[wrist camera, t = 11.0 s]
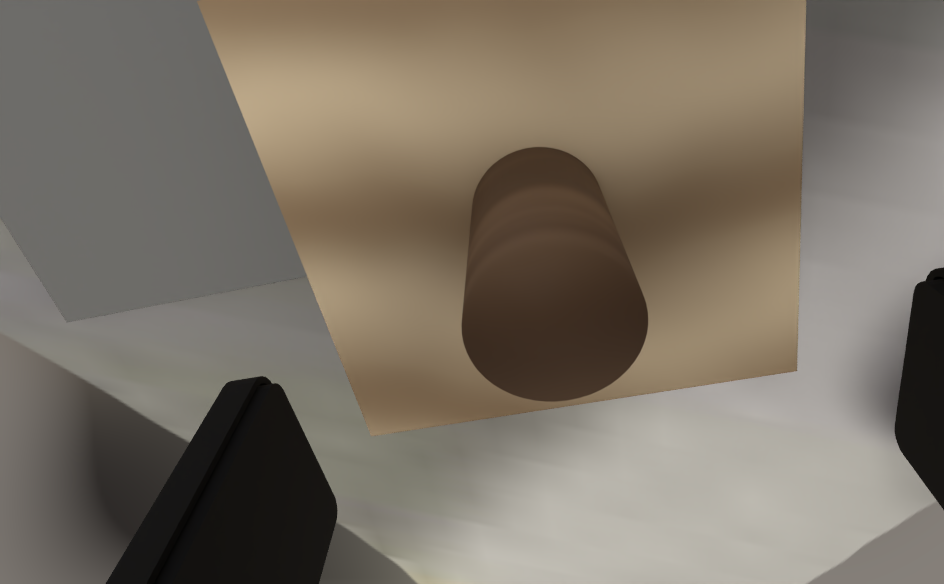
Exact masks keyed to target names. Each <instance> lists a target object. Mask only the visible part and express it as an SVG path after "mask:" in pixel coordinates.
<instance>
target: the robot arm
mask: <svg viewBox="0 0 944 584" xmlns="http://www.w3.org/2000/svg"><path fill="white" fill-rule="evenodd" d="M895 436H896V440H897V443H898V446H899V448H900V450H901V452H902V453H903V455H904V456H905V458H906V459H907V460H908V462H909V463H910V464H911V466H912V467H913V468H914V470H915V471H916V473H917V474H918V475H919V477H920V478H921V479H922V481H923V482H924V483H925V485H926V486H927V488H928V489H929V490H930V492H931V493H932V494H933V496H934V497H935V498H936V500H937V501H938V503H939V504H940V505H941V507H942V508H943V509H944V268H938V269H934V270H933V271H931V272H930V273H929V275H928V276H927V279H926V281H924V282H920V283H918V284H917V286H916V287H915V290H914V294H913V301H912V308H911V315H910V322H909V329H908V336H907V343H906V351H905V358H904V365H903V372H902V379H901V386H900V393H899V400H898V407H897V414H896V421H895ZM336 520H337V503H336V499H335V496H334V494H333V492H332V490H331V488H330V486H329V484H328V482H327V480H326V478H325V475H324V473H323V471H322V469H321V467H320V465H319V463H318V461H317V459H316V457H315V455H314V453H313V451H312V448H311V446H310V444H309V442H308V440H307V438H306V436H305V434H304V432H303V430H302V428H301V426H300V423H299V421H298V419H297V417H296V415H295V413H294V411H293V409H292V407H291V405H290V403H289V401H288V398H287V396H286V394H285V392H284V390H283V389H282V387H281V386H280V385H279V384H276V383H274V384H272V383H271V381H270V380H269V379H268V378H266V377H263V376H260V377H254V378H248V379H242V380H235V381H230V382H228V383H226V385H225V386H224V387H223V388H222V390H221V392H220V393H219V395H218V397H217V399H216V400H215V402H214V404H213V405H212V407H211V409H210V410H209V412H208V414H207V415H206V417H205V419H204V420H203V422H202V424H201V425H200V427H199V429H198V430H197V432H196V434H195V435H194V437H193V439H192V440H191V442H190V444H189V445H188V447H187V449H186V450H185V452H184V454H183V456H182V457H181V459H180V460H179V462H178V464H177V465H176V467H175V469H174V470H173V472H172V474H171V475H170V477H169V479H168V480H167V482H166V484H165V485H164V487H163V489H162V490H161V492H160V494H159V496H158V497H157V499H156V501H155V502H154V504H153V506H152V507H151V509H150V511H149V512H148V514H147V515H146V517H145V519H144V521H143V522H142V524H141V526H140V527H139V529H138V531H137V532H136V534H135V536H134V537H133V539H132V541H131V542H130V544H129V546H128V547H127V549H126V551H125V552H124V554H123V556H122V557H121V559H120V561H119V562H118V564H117V566H116V567H115V569H114V571H113V572H112V574H111V576H110V577H109V579H108V581H107V582H106V584H319V581H320V577H321V574H322V570H323V566H324V563H325V560H326V556H327V552H328V549H329V545H330V541H331V538H332V534H333V531H334V527H335V524H336Z"/></svg>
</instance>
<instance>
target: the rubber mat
mask: <svg viewBox="0 0 944 584" xmlns="http://www.w3.org/2000/svg"><path fill="white" fill-rule="evenodd" d="M197 1H200V0H0V218H1V219H2V221H3V222H4V224H5V226H6V227H7V229H8V230H9V232H10V234H11V235H12V237H13V238H14V240H15V241H16V243H17V245H18V246H19V248H20V249H21V251H22V252H23V254H24V256H25V257H26V259H27V260H28V262H29V263H30V265H31V267H32V268H33V270H34V271H35V273H36V275H37V276H38V278H39V279H40V281H41V282H42V284H43V286H44V287H45V289H46V290H47V292H48V293H49V295H50V297H51V298H52V300H53V301H54V303H55V305H56V306H57V308H58V309H59V311H60V312H61V314H62V316H63V317H64V319H65V320H66V322H71V321H77V320H82V319H87V318H92V317H98V316H103V315H108V314H113V313H118V312H124V311H129V310H134V309H139V308H145V307H150V306H155V305H160V304H166V303H171V302H176V301H181V300H186V299H192V298H197V297H202V296H207V295H213V294H218V293H223V292H228V291H233V290H239V289H244V288H249V287H254V286H260V285H265V284H270V283H275V282H280V281H286V280H291V279H296V278H301V277H307V274H306V272H305V269H304V267H303V264H302V262H301V259H300V257H299V254H298V252H297V249H296V247H295V245H294V242H293V240H292V237H291V235H290V232H289V230H288V227H287V225H286V222H285V220H284V217H283V215H282V212H281V210H280V207H279V205H278V202H277V200H276V197H275V195H274V192H273V190H272V187H271V185H270V182H269V180H268V177H267V175H266V172H265V170H264V167H263V165H262V162H261V160H260V157H259V155H258V152H257V150H256V147H255V145H254V142H253V140H252V137H251V135H250V132H249V130H248V127H247V125H246V122H245V120H244V117H243V115H242V112H241V110H240V107H239V105H238V102H237V100H236V97H235V95H234V93H233V90H232V88H231V85H230V83H229V80H228V78H227V75H226V73H225V70H224V68H223V65H222V63H221V60H220V58H219V55H218V53H217V50H216V48H215V45H214V43H213V40H212V38H211V35H210V33H209V30H208V28H207V25H206V23H205V20H204V18H203V15H202V13H201V10H200V8H199V5H198V3H197Z"/></svg>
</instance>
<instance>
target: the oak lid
mask: <svg viewBox="0 0 944 584" xmlns="http://www.w3.org/2000/svg"><path fill="white" fill-rule="evenodd" d="M197 3H198V5H199V8H200V10H201V13H202V15H203V18H204V20H205V23H206V25H207V28H208V30H209V33H210V35H211V38H212V40H213V43H214V45H215V48H216V50H217V53H218V55H219V58H220V60H221V63H222V65H223V68H224V70H225V73H226V75H227V78H228V80H229V83H230V85H231V88H232V90H233V93H234V95H235V97H236V100H237V102H238V105H239V107H240V110H241V112H242V115H243V117H244V120H245V122H246V125H247V127H248V130H249V132H250V135H251V137H252V140H253V142H254V145H255V147H256V150H257V152H258V155H259V157H260V160H261V162H262V165H263V167H264V170H265V172H266V175H267V177H268V180H269V182H270V185H271V187H272V190H273V192H274V195H275V197H276V200H277V202H278V205H279V207H280V210H281V212H282V215H283V217H284V220H285V222H286V225H287V227H288V230H289V232H290V235H291V237H292V240H293V242H294V245H295V247H296V249H297V252H298V254H299V257H300V259H301V262H302V264H303V267H304V269H305V272H306V274H307V277H308V279H309V282H310V284H311V287H312V289H313V292H314V294H315V297H316V299H317V302H318V304H319V307H320V309H321V312H322V314H323V317H324V319H325V322H326V324H327V327H328V329H329V332H330V334H331V337H332V339H333V342H334V344H335V347H336V349H337V352H338V354H339V357H340V359H341V362H342V364H343V367H344V369H345V372H346V374H347V377H348V379H349V382H350V384H351V387H352V389H353V392H354V394H355V396H356V399H357V401H358V404H359V406H360V409H361V411H362V414H363V416H364V419H365V421H366V424H367V426H368V429H369V431H370V434H371V436H376V435H383V434H389V433H396V432H402V431H409V430H415V429H422V428H428V427H435V426H442V425H448V424H455V423H461V422H468V421H474V420H481V419H487V418H494V417H500V416H507V415H513V414H520V413H526V412H533V411H539V410H546V409H552V408H559V407H565V406H572V405H578V404H585V403H591V402H598V401H604V400H611V399H618V398H624V397H631V396H637V395H644V394H650V393H657V392H663V391H670V390H676V389H683V388H689V387H696V386H702V385H709V384H715V383H722V382H728V381H735V380H741V379H748V378H754V377H761V376H767V375H774V374H780V373H787V372H794V371H797V347H798V308H799V268H800V228H801V188H802V149H803V109H804V69H805V29H806V0H200V1H197Z"/></svg>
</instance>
